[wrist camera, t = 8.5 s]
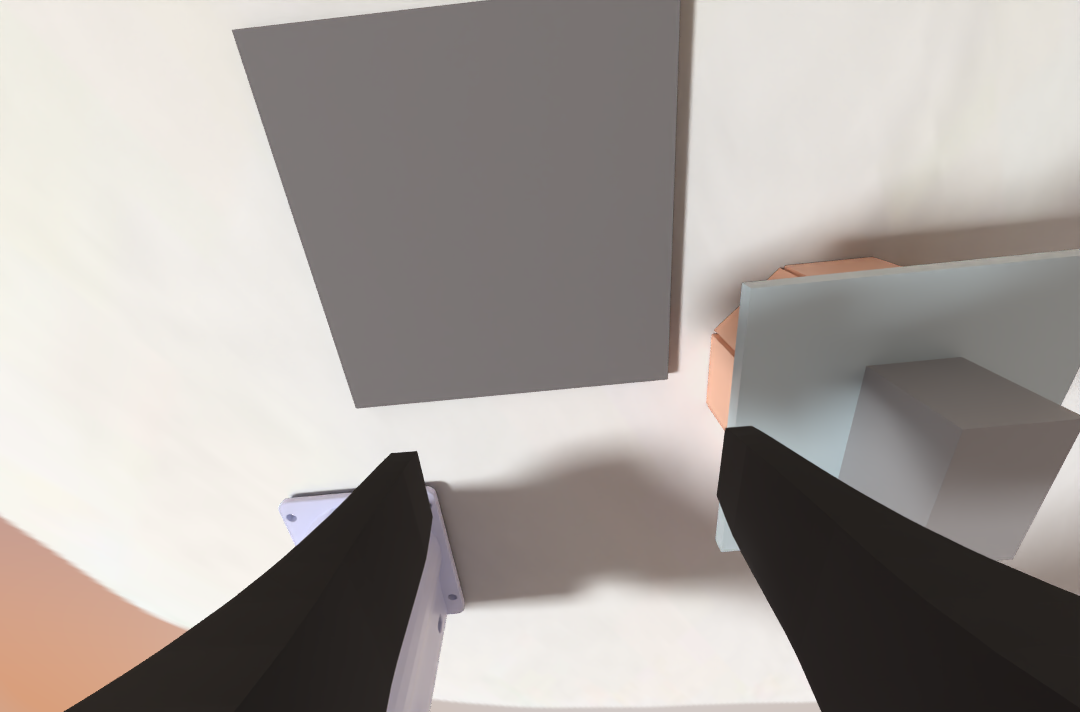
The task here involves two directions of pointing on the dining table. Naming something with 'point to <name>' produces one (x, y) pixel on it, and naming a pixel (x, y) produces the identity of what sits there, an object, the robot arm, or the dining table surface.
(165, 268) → the dining table surface
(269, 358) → the dining table surface
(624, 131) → the mat
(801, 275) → the bowl
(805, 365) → the cover
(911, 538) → the robot arm
